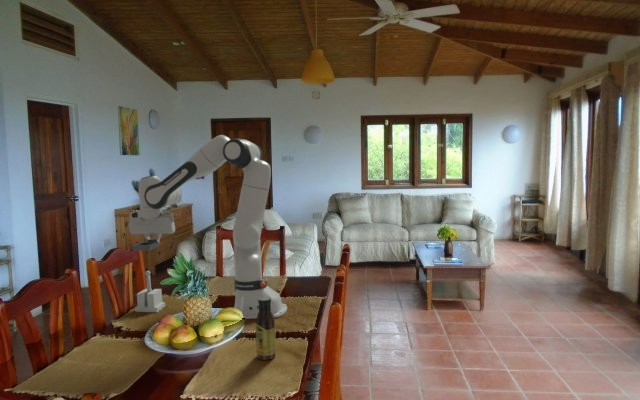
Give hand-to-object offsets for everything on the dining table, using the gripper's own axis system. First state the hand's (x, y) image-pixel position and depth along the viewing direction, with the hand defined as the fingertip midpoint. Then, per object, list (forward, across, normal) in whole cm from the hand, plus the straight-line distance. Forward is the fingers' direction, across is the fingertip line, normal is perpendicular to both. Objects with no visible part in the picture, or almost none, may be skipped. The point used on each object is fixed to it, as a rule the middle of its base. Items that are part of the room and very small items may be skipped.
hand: (153, 243), depth 200 cm
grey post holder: (+28, 0, +6) cm, 28 cm away
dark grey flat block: (+1, 0, +4) cm, 4 cm away
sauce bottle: (+28, -63, +48) cm, 84 cm away
